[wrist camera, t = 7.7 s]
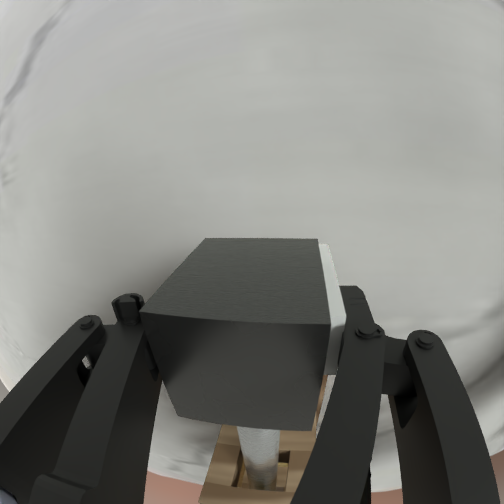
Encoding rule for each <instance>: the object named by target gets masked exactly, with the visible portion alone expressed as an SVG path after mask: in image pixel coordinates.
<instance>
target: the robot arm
mask: <svg viewBox="0 0 504 504" xmlns="http://www.w3.org/2000/svg"><path fill="white" fill-rule="evenodd" d="M319 249H320V255H321V260H322V266H323V272H324V278H325V284H326V291H327V297H328V304H329V311H330V318H331V330H330V337H329V344H328V351H327V357H326V363H325V369H324V374H323V375H336V377H335V381H334V385H333V388H332V392H331V395H330V399H329V402H328V405H327V409H326V412H325V415H324V418H323V421H322V424H321V427H320V430H319V433H318V436H317V439H316V441H315V444H314V447H313V450H312V452H311V455H310V458H309V460H308V463H307V465H306V468H305V470H304V473H303V475H302V477H301V480H300V482H299V484H298V487H297V489H296V491H295V493H294V496H293V498H292V500H291V502H290V504H360V501H361V498H362V494H363V491H364V487H365V483H366V479H367V475H368V471H369V466H370V462H371V457H372V452H373V447H374V442H375V436H376V430H377V424H378V417H379V410H380V402H381V394H387V395H388V398H389V403H390V408H391V413H392V418H393V424H394V430H395V436H396V442H397V448H398V455H399V463H400V471H401V481H402V492H403V504H500V499H499V494H498V488H497V484H496V479H495V475H494V471H493V467H492V463H491V459H490V456H489V452H488V449H487V446H486V443H485V440H484V436H483V434H482V431H481V428H480V425H479V422H478V419H477V417H476V414H475V412H474V409H473V407H472V404H471V402H470V399H469V397H468V394H467V392H466V390H465V388H464V385H463V383H462V381H461V379H460V376H459V374H458V372H457V370H456V368H455V366H454V364H453V362H452V360H451V358H450V356H449V354H448V352H447V350H446V348H445V346H444V344H443V342H442V340H441V339H440V338H439V337H438V336H437V335H436V334H434V333H433V332H430V331H427V330H417V331H413V332H412V333H410V334H409V336H408V338H407V340H402V339H396V338H391V337H388V336H386V335H385V333H384V330H383V329H382V328H381V327H380V326H379V325H377V324H375V323H374V320H373V317H372V314H371V311H370V309H369V306H368V303H367V301H366V298H365V295H364V293H363V291H362V290H361V289H360V288H358V287H357V286H339V283H338V280H337V276H336V272H335V268H334V264H333V260H332V257H331V253H330V249H329V246H328V244H319ZM144 305H145V303H144V300H143V297H142V296H141V295H139V294H135V293H130V294H125V295H122V296H119V297H118V298H116V299H114V300H113V301H112V306H113V309H114V312H115V315H116V318H117V323H116V324H115V325H103V324H102V321H101V319H100V317H98V316H96V315H88V316H84V317H83V318H81V319H79V320H78V321H77V322H76V323H75V324H73V325H72V326H71V327H70V328H69V329H68V330H67V331H66V332H65V333H64V334H63V335H62V336H61V337H60V338H59V339H58V340H57V341H56V342H55V343H54V344H53V345H52V347H51V348H50V349H49V350H48V351H47V352H46V353H45V354H44V355H43V356H42V357H41V358H40V359H39V360H38V361H37V362H36V363H35V364H34V365H33V367H32V368H31V369H30V370H29V371H28V372H27V373H26V374H25V375H24V376H23V378H22V379H21V380H20V381H19V382H18V383H17V384H16V386H15V387H14V388H13V389H12V390H11V391H10V392H9V394H8V395H7V396H6V397H5V398H4V400H3V401H2V402H1V403H0V504H143V502H144V492H145V483H146V475H147V467H148V460H149V453H150V446H151V440H152V433H153V427H154V421H155V415H156V410H157V404H158V399H159V394H160V389H161V384H162V377H161V375H160V372H159V369H158V367H157V364H156V361H155V359H154V356H153V353H152V350H151V347H150V345H149V342H148V339H147V336H146V333H145V330H144V326H143V323H142V320H141V317H140V313H139V311H140V309H141V308H142V307H143V306H144ZM85 356H86V357H87V359H88V361H89V363H90V366H89V367H87V368H86V367H85V365H84V364H83V362H82V359H83V358H84V357H85ZM337 368H338V370H337ZM336 372H337V374H336Z"/></svg>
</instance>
